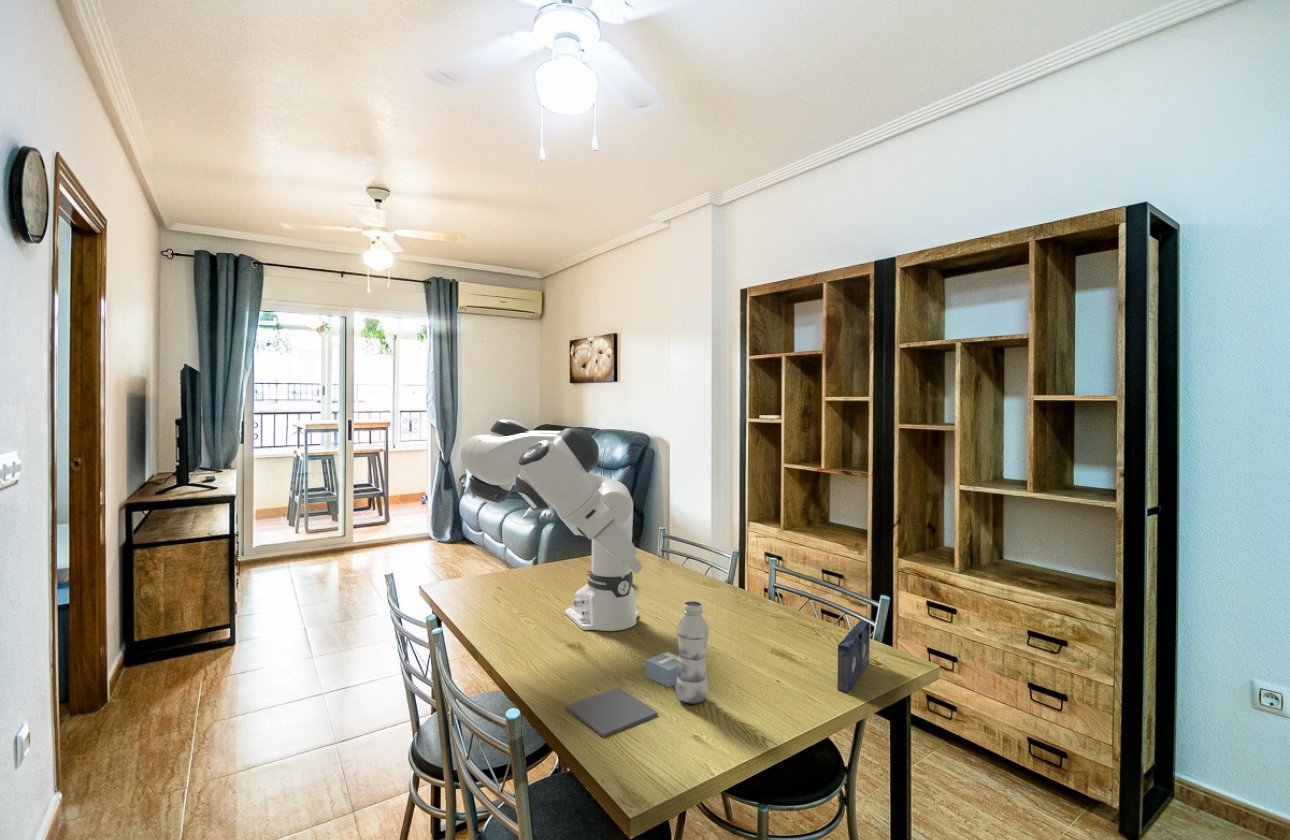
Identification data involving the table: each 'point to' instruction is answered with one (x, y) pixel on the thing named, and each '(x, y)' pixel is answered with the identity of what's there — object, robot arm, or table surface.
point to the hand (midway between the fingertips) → (630, 563)
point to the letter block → (663, 668)
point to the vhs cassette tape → (853, 656)
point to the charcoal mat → (611, 711)
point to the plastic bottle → (692, 654)
